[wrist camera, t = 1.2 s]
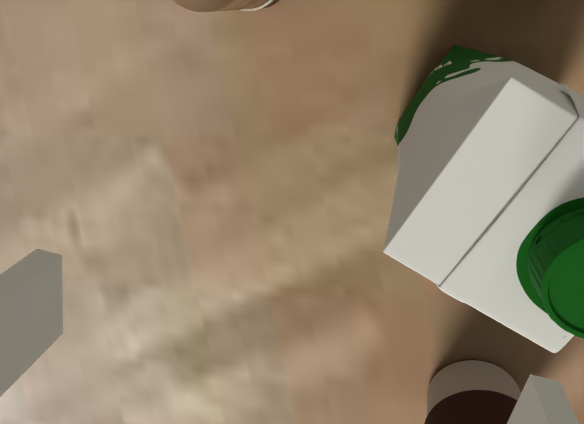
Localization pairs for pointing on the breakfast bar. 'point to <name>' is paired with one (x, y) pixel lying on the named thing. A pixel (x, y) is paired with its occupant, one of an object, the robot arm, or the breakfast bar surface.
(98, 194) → the breakfast bar surface
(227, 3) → the peg
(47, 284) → the robot arm
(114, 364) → the breakfast bar surface
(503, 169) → the milk carton
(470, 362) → the coffee cup
